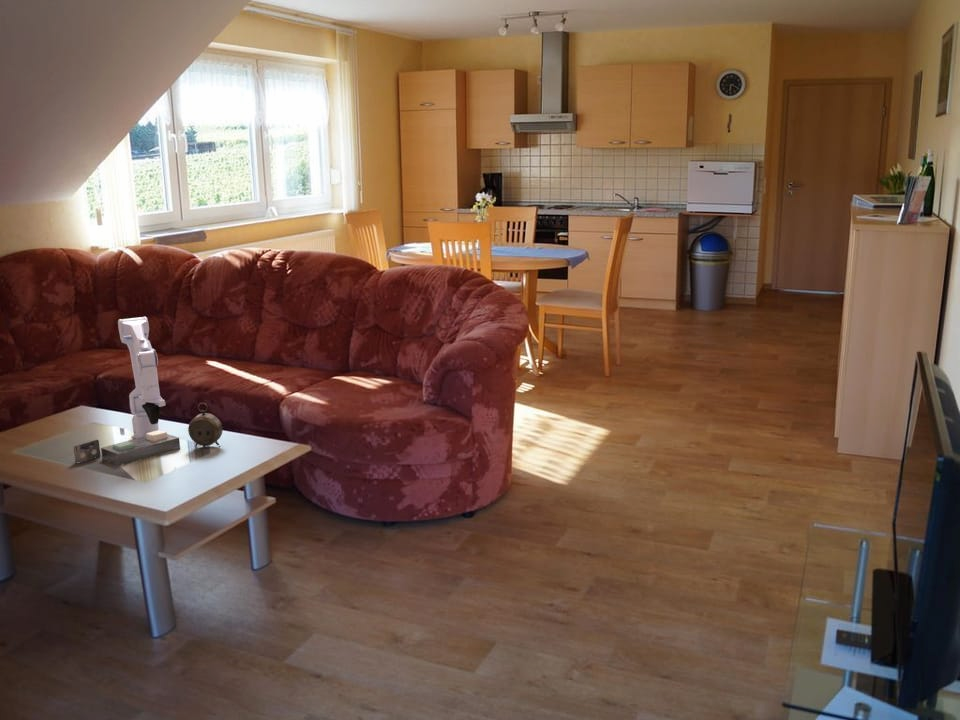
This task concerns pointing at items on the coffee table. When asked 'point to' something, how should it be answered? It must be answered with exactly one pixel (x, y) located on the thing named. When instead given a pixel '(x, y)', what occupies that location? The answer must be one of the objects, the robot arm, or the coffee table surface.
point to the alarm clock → (205, 429)
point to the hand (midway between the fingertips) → (154, 423)
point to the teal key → (123, 446)
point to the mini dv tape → (87, 451)
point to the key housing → (140, 450)
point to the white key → (156, 435)
